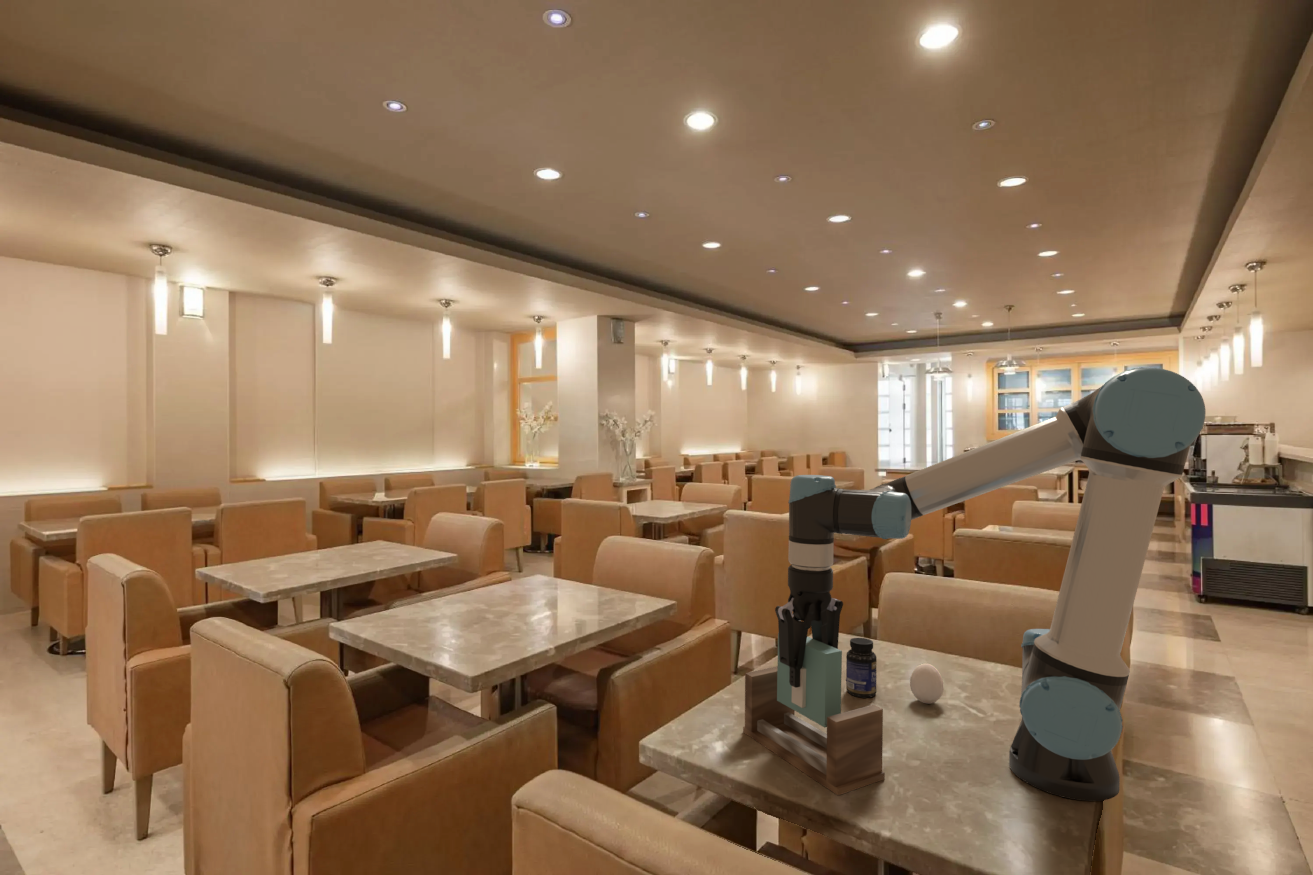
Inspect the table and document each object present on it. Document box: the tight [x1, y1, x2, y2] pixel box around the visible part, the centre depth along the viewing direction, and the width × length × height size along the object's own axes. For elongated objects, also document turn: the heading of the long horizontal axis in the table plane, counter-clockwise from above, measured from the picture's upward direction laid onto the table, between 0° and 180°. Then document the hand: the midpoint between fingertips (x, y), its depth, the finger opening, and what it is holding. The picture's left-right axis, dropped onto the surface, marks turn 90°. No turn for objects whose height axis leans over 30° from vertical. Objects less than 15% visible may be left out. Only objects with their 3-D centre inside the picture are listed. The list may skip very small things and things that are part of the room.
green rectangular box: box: [777, 632, 843, 728], centre depth 114 cm, size 12×4×12 cm, turn 29°
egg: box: [909, 662, 945, 705], centre depth 135 cm, size 6×6×8 cm
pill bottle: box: [845, 637, 877, 699], centre depth 140 cm, size 6×6×11 cm
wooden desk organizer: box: [742, 665, 886, 796], centre depth 114 cm, size 24×10×11 cm, turn 29°
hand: (808, 701), depth 114 cm, fingers closed on green rectangular box, 3 cm apart
